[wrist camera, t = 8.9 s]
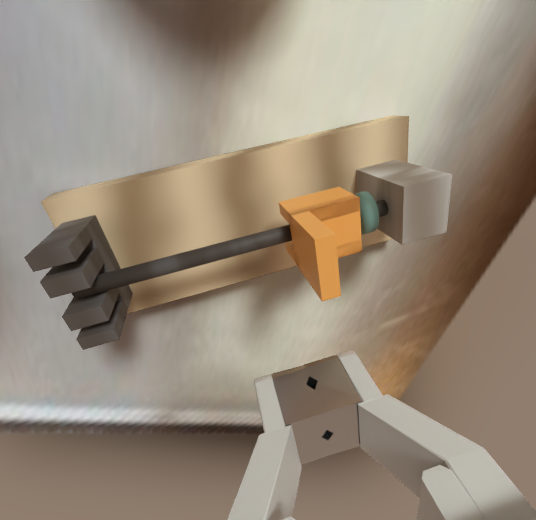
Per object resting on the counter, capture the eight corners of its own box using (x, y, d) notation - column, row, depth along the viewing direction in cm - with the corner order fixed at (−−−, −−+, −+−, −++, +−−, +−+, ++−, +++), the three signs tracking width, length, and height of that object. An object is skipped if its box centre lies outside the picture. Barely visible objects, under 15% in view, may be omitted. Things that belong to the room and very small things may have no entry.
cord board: (391, 115, 23) (474, 118, 16) (391, 227, 27) (455, 265, 20) (53, 193, 20) (-13, 235, 13) (111, 304, 24) (83, 377, 18)
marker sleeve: (338, 186, 19) (397, 216, 14) (342, 235, 21) (395, 279, 16) (278, 202, 19) (314, 239, 14) (286, 250, 21) (322, 301, 15)
